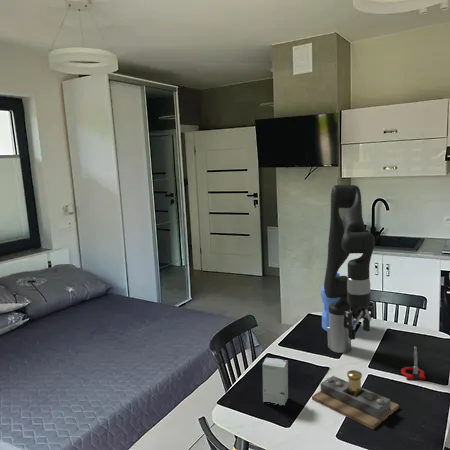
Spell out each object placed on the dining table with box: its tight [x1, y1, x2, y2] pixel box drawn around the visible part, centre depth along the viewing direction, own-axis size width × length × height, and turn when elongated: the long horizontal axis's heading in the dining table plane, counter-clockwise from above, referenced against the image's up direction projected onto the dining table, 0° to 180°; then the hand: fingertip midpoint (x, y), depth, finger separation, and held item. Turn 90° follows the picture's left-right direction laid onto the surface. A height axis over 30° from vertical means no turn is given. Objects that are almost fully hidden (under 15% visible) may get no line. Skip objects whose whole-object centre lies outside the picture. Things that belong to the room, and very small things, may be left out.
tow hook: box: [400, 346, 426, 381], centre depth 162 cm, size 8×13×9 cm
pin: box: [346, 369, 363, 397], centre depth 146 cm, size 5×5×10 cm
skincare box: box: [262, 357, 289, 407], centre depth 151 cm, size 8×6×15 cm
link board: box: [311, 375, 400, 430], centre depth 146 cm, size 24×16×5 cm, turn 40°
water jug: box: [320, 272, 355, 332], centre depth 207 cm, size 16×16×28 cm
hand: (359, 334), depth 145 cm, fingers open, 8 cm apart
